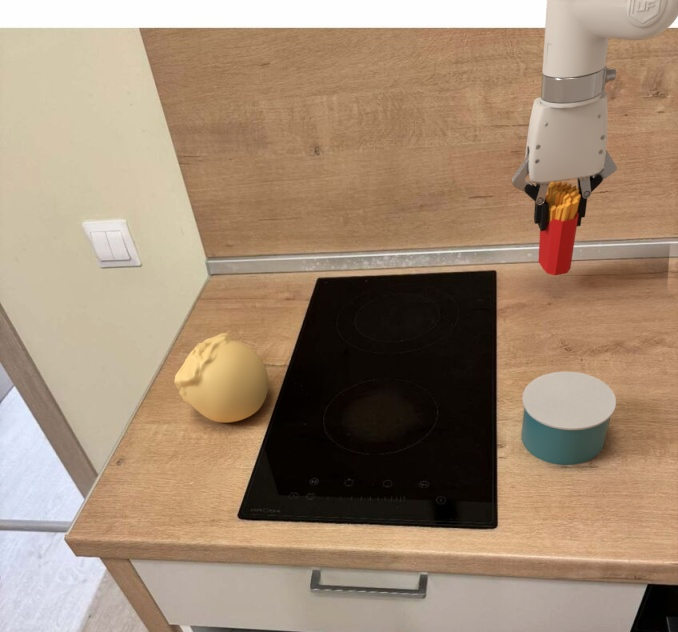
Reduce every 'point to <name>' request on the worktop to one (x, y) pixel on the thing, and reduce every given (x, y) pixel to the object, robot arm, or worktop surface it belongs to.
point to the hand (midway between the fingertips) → (558, 223)
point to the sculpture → (223, 379)
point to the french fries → (559, 228)
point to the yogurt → (566, 417)
